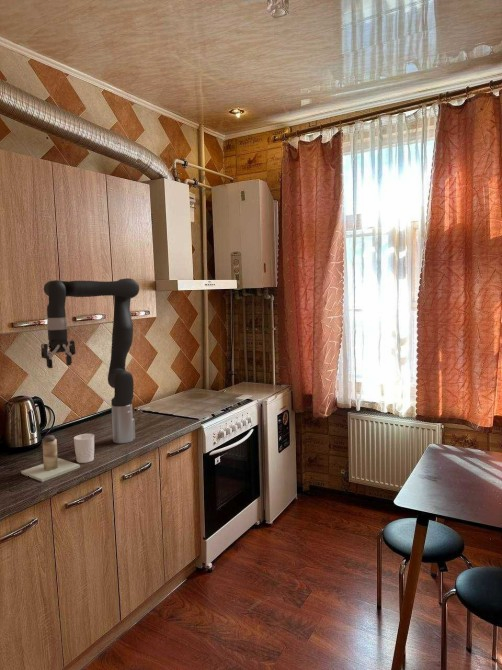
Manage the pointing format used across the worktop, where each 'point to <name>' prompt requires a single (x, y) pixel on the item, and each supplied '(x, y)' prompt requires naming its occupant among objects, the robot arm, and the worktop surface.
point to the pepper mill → (50, 453)
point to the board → (44, 475)
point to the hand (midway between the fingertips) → (59, 366)
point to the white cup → (84, 448)
